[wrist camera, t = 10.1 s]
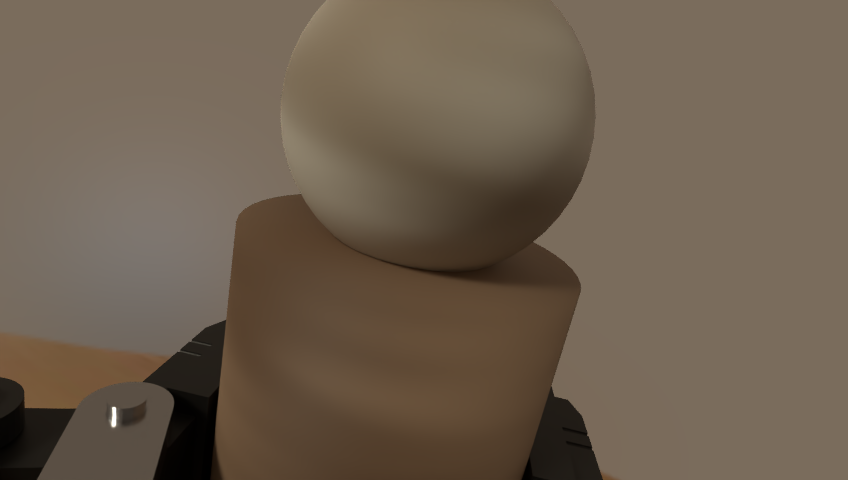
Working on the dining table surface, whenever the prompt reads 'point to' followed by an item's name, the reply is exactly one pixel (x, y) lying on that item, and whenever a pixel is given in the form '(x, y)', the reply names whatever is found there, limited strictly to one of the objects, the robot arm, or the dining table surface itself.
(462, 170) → the wooden peg figure
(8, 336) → the dining table surface
